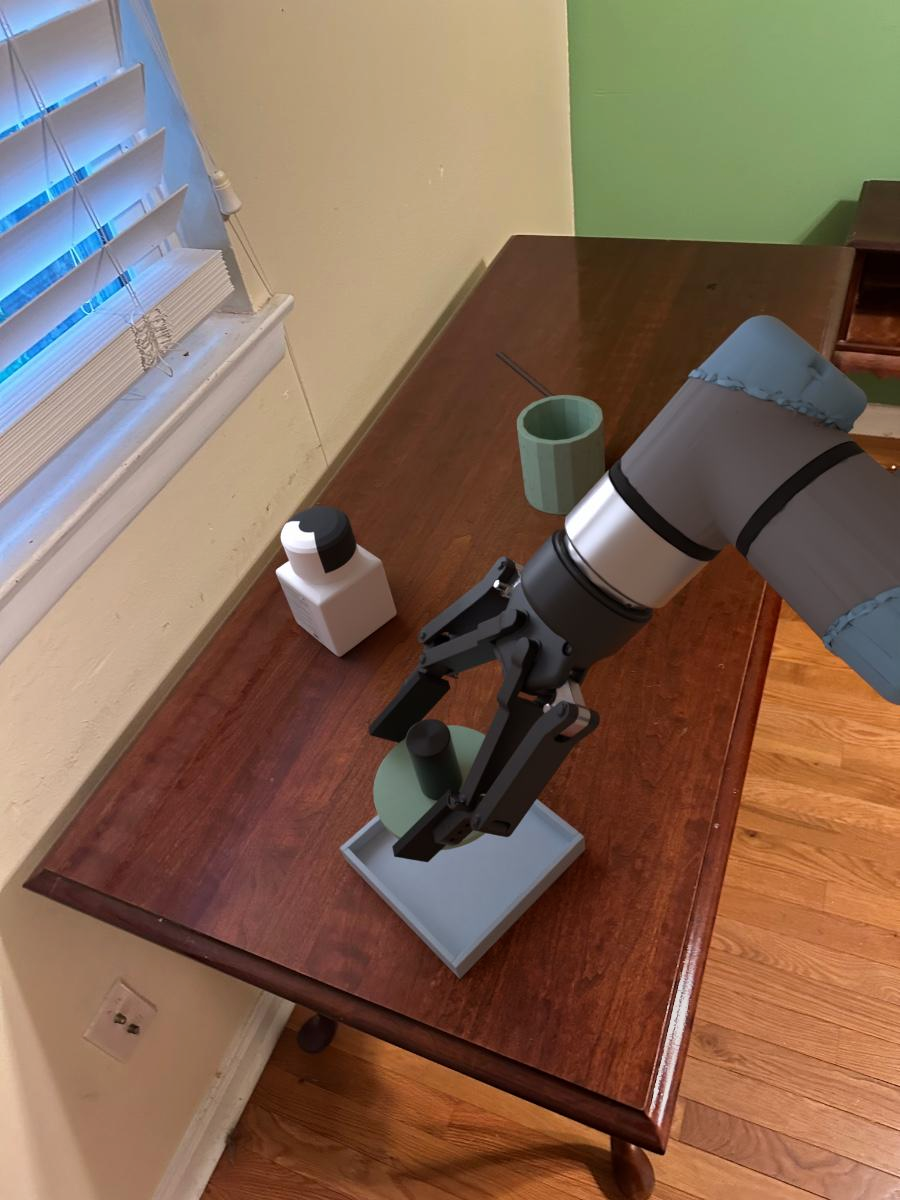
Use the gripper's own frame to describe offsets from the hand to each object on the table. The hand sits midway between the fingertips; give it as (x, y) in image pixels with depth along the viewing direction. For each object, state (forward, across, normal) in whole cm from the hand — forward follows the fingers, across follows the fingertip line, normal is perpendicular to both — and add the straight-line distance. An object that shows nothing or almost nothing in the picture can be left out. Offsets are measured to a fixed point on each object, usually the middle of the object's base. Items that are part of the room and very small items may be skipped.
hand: (396, 791), depth 59 cm
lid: (-1, 0, -3) cm, 3 cm away
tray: (+5, 0, -10) cm, 11 cm away
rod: (-12, +64, -28) cm, 71 cm away
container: (+9, +29, -6) cm, 31 cm away
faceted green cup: (-10, +40, -25) cm, 48 cm away
